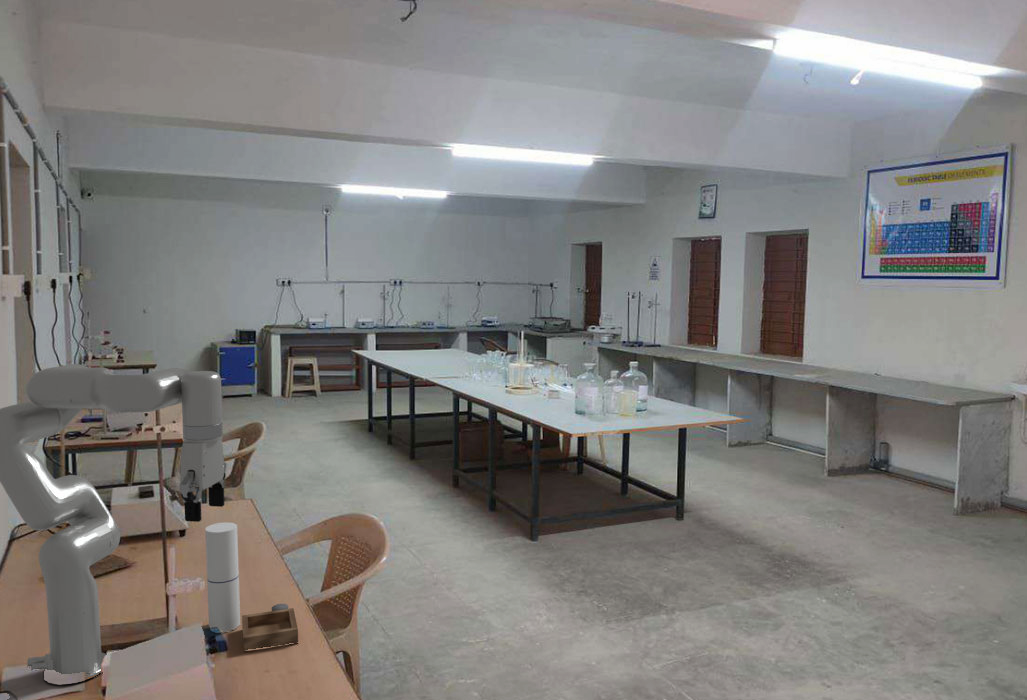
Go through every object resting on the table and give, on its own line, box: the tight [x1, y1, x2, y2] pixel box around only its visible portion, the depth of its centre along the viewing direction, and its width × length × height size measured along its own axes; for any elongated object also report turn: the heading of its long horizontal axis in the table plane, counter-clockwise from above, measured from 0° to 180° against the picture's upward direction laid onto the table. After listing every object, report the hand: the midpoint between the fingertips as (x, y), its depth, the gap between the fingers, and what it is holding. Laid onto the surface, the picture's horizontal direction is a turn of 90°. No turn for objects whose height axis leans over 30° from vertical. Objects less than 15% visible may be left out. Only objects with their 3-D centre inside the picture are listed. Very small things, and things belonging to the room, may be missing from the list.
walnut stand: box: [241, 607, 299, 651], centre depth 181 cm, size 12×12×4 cm
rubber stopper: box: [271, 603, 289, 611], centre depth 190 cm, size 4×4×3 cm
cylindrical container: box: [204, 522, 241, 632], centre depth 185 cm, size 7×7×25 cm
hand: (205, 513), depth 157 cm, fingers open, 9 cm apart
